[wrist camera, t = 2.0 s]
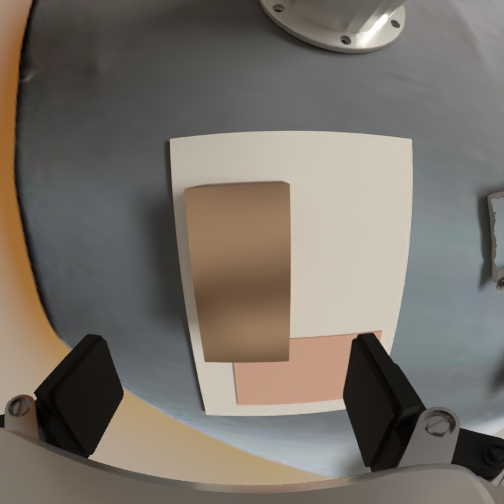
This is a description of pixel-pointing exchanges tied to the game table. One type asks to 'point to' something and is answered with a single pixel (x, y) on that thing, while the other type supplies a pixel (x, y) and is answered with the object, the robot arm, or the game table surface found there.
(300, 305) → the rubber mat
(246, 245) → the walnut block
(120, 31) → the game table surface
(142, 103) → the game table surface
